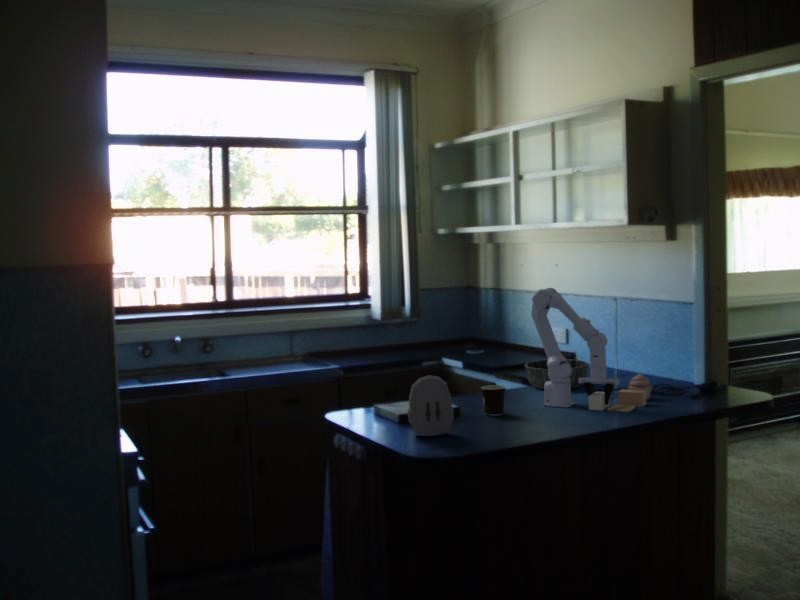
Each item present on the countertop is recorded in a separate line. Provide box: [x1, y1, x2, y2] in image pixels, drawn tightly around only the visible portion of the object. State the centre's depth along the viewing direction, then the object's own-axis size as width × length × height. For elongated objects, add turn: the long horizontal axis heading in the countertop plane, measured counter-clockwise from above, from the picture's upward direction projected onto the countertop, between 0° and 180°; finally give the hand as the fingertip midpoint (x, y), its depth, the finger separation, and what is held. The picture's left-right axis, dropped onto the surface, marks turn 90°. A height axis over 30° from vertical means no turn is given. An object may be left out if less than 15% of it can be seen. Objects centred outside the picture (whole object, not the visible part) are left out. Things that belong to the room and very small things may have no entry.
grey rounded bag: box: [407, 374, 455, 435], centre depth 259 cm, size 15×8×20 cm, turn 98°
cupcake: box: [627, 372, 654, 401], centre depth 303 cm, size 9×9×10 cm
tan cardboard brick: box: [617, 388, 647, 407], centre depth 294 cm, size 9×5×5 cm, turn 59°
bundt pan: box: [524, 358, 589, 390], centre depth 337 cm, size 26×26×10 cm
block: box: [587, 391, 611, 411], centre depth 291 cm, size 9×5×5 cm, turn 149°
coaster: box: [606, 404, 637, 413], centre depth 287 cm, size 8×8×1 cm
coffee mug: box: [480, 384, 506, 414], centre depth 289 cm, size 12×9×10 cm
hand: (599, 403), depth 291 cm, fingers closed on block, 5 cm apart
